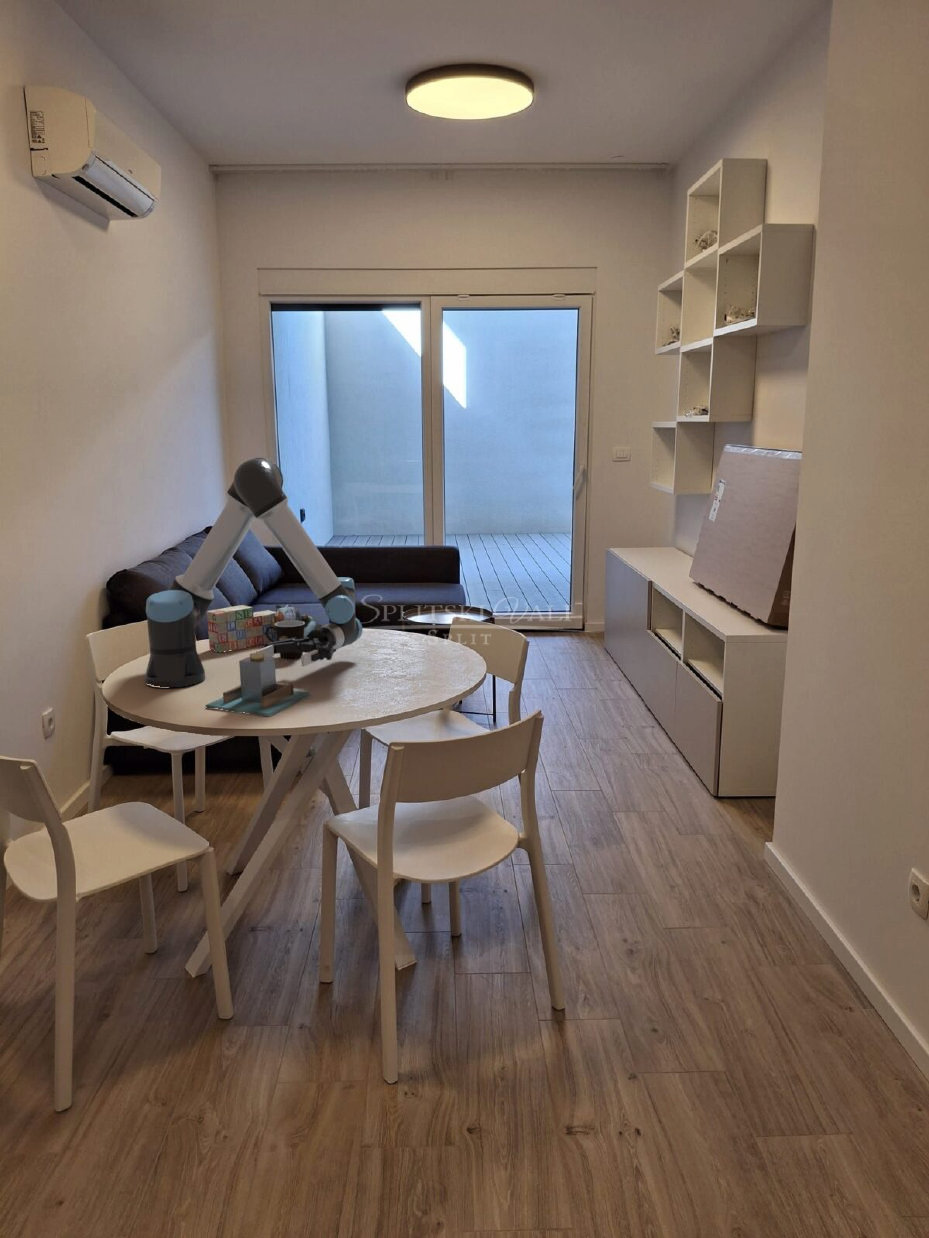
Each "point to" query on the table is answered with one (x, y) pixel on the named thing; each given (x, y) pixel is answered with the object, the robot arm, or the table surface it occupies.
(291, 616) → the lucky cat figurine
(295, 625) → the coffee mug
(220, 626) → the stack of blocks
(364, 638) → the table surface
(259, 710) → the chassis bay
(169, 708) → the table surface
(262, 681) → the grey block with knob
